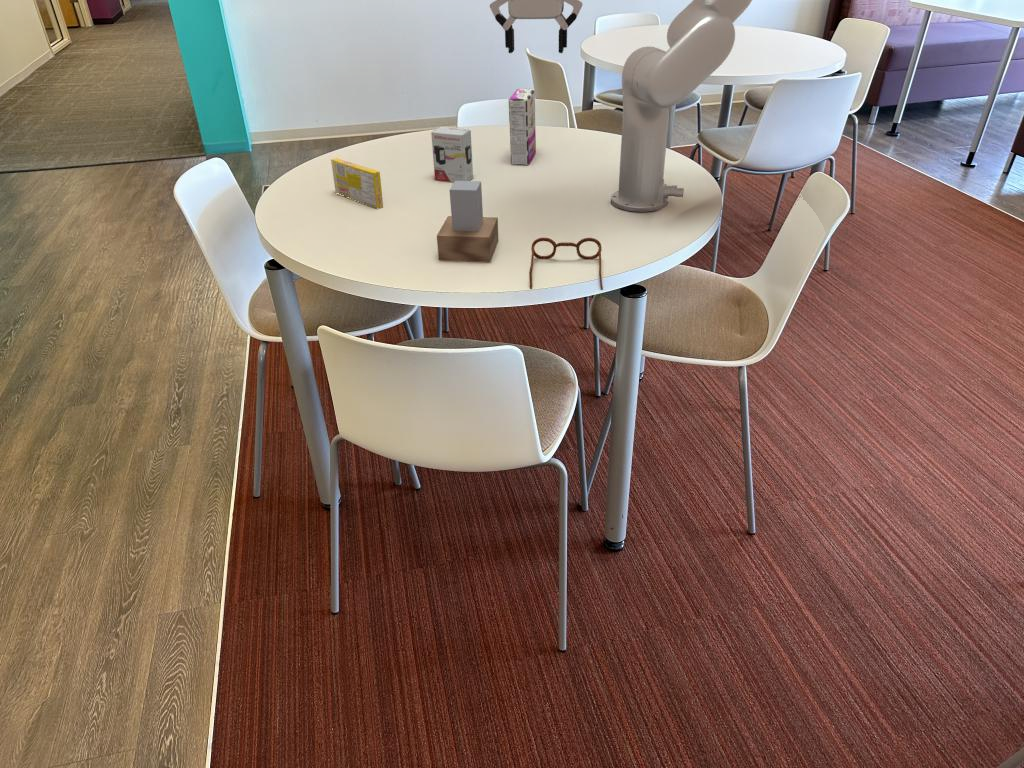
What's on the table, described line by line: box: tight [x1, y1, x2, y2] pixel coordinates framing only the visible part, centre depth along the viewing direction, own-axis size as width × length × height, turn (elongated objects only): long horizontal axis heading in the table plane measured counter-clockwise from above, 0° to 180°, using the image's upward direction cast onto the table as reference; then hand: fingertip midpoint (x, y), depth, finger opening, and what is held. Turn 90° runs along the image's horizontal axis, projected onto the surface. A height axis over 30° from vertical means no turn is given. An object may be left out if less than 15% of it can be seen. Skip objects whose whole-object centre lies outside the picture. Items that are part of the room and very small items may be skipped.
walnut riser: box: [436, 215, 500, 263], centre depth 139 cm, size 10×10×5 cm
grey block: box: [449, 180, 484, 232], centre depth 136 cm, size 5×5×8 cm
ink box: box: [430, 126, 474, 183], centre depth 173 cm, size 9×5×12 cm, turn 68°
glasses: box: [528, 237, 604, 291], centre depth 130 cm, size 13×13×5 cm
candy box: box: [330, 157, 384, 209], centre depth 164 cm, size 16×2×8 cm, turn 47°
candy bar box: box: [508, 88, 537, 166], centre depth 184 cm, size 11×5×16 cm, turn 168°
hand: (536, 51), depth 138 cm, fingers open, 9 cm apart
